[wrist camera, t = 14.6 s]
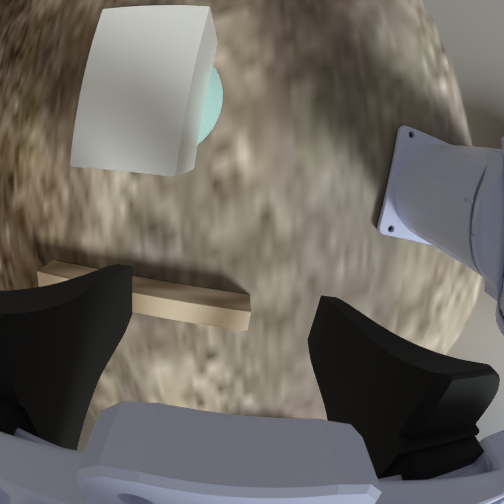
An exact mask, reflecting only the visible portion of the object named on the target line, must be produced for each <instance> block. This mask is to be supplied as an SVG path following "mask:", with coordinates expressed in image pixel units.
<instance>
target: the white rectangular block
mask: <svg viewBox="0 0 504 504" xmlns="http://www.w3.org/2000/svg"><path fill="white" fill-rule="evenodd" d="M217 46H218V41H217V37H216V32H215V28H214V23H213V19H212V15H211V10H210V7H207V6H186V5H152V6H132V7H119V8H109V9H103V10H102V13H101V16H100V19H99V22H98V25H97V28H96V32H95V35H94V38H93V42H92V45H91V49H90V53H89V56H88V60H87V64H86V69H85V73H84V77H83V82H82V87H81V92H80V97H79V102H78V108H77V114H76V120H75V127H74V134H73V142H72V151H71V161H70V166H71V167H84V168H96V169H108V170H118V171H128V172H137V173H146V174H155V175H163V176H171V177H176V176H179V175H181V174H184V173H186V172H188V171H191V170H193V169H194V166H195V159H196V153H197V147H198V145H197V144H198V138H199V132H200V127H201V121H202V116H203V110H204V105H205V100H206V95H207V90H208V85H209V80H210V75H211V70H212V66H213V63H214V59H215V54H216V50H217Z"/></svg>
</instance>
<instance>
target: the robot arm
mask: <svg viewBox="0 0 504 504" xmlns="http://www.w3.org/2000/svg"><path fill="white" fill-rule="evenodd" d="M409 132H411V133H412V137H411V138H410V137H409ZM502 148H503V150H500V149H492V148H482V147H472V146H459V145H450V144H448V143H446V142H444V141H442V140H439V139H437V138H435V137H433V136H430V135H428V134H426V133H423V132H421V131H418V130H416V129H413V128H411V127H408V126H400V127H399V129H398V133H397V138H396V144H395V150H394V155H393V160H392V165H391V170H390V175H389V179H388V184H387V188H386V193H385V197H384V201H383V206H382V210H381V214H380V218H379V222H378V226H377V228H378V231H379V232H380V233H382V234H385V235H389V236H394V237H398V238H403V239H407V240H412V241H416V242H421V243H425V244H429V245H433V246H435V247H437V248H438V249H440V250H442V251H443V252H445V253H447V254H448V255H450V256H451V257H453V258H455V259H456V260H458V261H459V262H461V263H463V264H464V265H466V266H467V267H469V268H470V269H472V270H473V271H475V272H476V273H478V274H480V275H481V276H483V278H484V282H485V292H486V293H487V294H489V295H490V296H491V297H493V298H494V299H495V300H497V301H498V302H497V307H496V321H497V324H498V327H499V329H500V331H501V333H502V334H503V335H504V137H503V138H502ZM389 226H392V229H391V230H390V231H388V228H389ZM132 278H133V267H131V266H125V265H120V264H116V265H111V266H108V267H105V268H102V269H99V270H96V271H93V272H90V273H88V274H85V275H82V276H79V277H76V278H72V279H69V280H66V281H63V282H59V283H55V284H51V285H47V286H42V287H37V288H29V289H21V290H11V291H0V504H503V503H504V431H500V432H497V433H495V434H493V435H490V436H488V437H485V438H484V439H483V440H481V441H480V442H478V440H477V439H476V437H475V435H477V434H478V433H479V429H478V427H477V426H476V422H477V421H478V420H479V418H480V417H481V416H482V415H483V413H484V412H485V410H486V409H487V408H488V406H489V405H490V403H491V402H492V400H493V399H494V397H495V395H496V393H497V390H498V387H499V381H500V379H499V375H498V374H497V372H496V371H495V370H494V369H493V368H492V367H491V366H490V365H488V364H483V363H477V362H471V361H465V360H461V359H457V358H453V357H449V356H446V355H443V354H439V353H436V352H434V351H431V350H428V349H426V348H423V347H420V346H418V345H416V344H414V343H411V342H409V341H407V340H405V339H403V338H401V337H399V336H397V335H396V334H394V333H392V332H390V331H389V330H387V329H385V328H384V327H382V326H380V325H379V324H377V323H376V322H374V321H373V320H371V319H370V318H368V317H367V316H365V315H364V314H362V313H361V312H359V311H358V310H356V309H355V308H353V307H352V306H350V305H349V304H347V303H346V302H344V301H342V300H340V299H338V298H336V297H329V296H321V298H320V301H319V305H318V308H317V311H316V315H315V318H314V321H313V324H312V327H311V331H310V334H309V337H308V346H309V353H310V359H311V363H312V366H313V370H314V373H315V376H316V379H317V382H318V386H319V389H320V392H321V395H322V398H323V402H324V405H325V409H326V413H327V419H328V421H327V420H322V419H296V418H272V417H257V416H245V415H235V414H226V413H217V412H210V411H203V410H196V409H190V408H183V407H178V406H172V405H167V404H162V403H147V402H128V401H123V402H120V403H118V404H115V405H113V406H111V407H109V408H107V409H105V410H103V411H101V412H100V414H99V417H98V419H97V421H96V424H95V426H94V428H93V431H92V433H91V436H90V438H89V440H88V443H87V445H86V448H85V450H84V451H77V446H78V442H79V438H80V434H81V430H82V426H83V423H84V419H85V416H86V413H87V410H88V407H89V404H90V401H91V398H92V396H93V393H94V390H95V388H96V385H97V382H98V380H99V378H100V376H101V374H102V372H103V370H104V368H105V367H106V365H107V363H108V361H109V360H110V358H111V356H112V354H113V353H114V351H115V349H116V347H117V346H118V344H119V342H120V340H121V339H122V337H123V335H124V333H125V331H126V329H127V326H128V324H129V321H130V318H131V316H132Z"/></svg>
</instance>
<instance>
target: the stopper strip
mask: <svg viewBox="0 0 504 504" xmlns="http://www.w3.org/2000/svg"><path fill="white" fill-rule="evenodd" d="M96 270H99V269H95V268H90V267H85V266H81V265H76V264H71V263H66V262H62V261H57V260H52V261H51V262H50V263H48V264H47V265H45V266H44V267H43V268H41V269H40V270H38V271H37V274H38V283H39V287H42V286H47V285H51V284H55V283H59V282H63V281H66V280H69V279H72V278H76V277H79V276H82V275H85V274H88V273H90V272H93V271H96ZM132 312H136V313H141V314H146V315H151V316H156V317H161V318H167V319H172V320H178V321H184V322H190V323H196V324H202V325H209V326H215V327H222V328H229V329H236V330H243V331H247V329H248V324H249V319H250V314H251V305H250V295H248V294H241V293H234V292H227V291H221V290H214V289H208V288H201V287H195V286H189V285H183V284H177V283H171V282H165V281H159V280H154V279H148V278H143V277H137V276H133V278H132Z"/></svg>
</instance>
